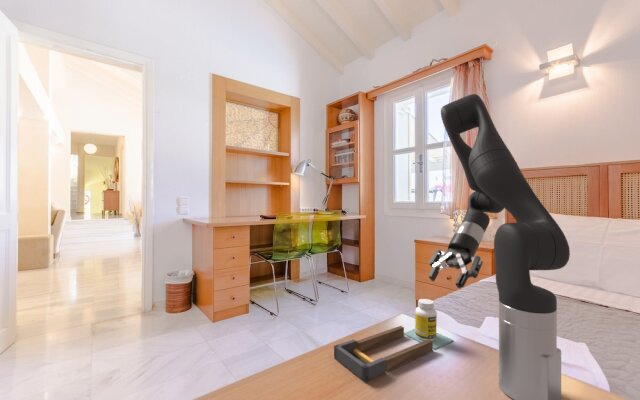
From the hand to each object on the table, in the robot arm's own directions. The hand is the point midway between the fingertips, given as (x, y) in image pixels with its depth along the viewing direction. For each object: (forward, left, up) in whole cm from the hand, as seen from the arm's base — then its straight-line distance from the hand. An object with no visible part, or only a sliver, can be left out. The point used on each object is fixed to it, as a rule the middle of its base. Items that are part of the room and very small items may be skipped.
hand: (444, 283), depth 84 cm
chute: (0, +20, -14) cm, 25 cm away
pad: (0, +7, -14) cm, 16 cm away
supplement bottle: (0, +8, -14) cm, 16 cm away
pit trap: (0, +32, -14) cm, 35 cm away
